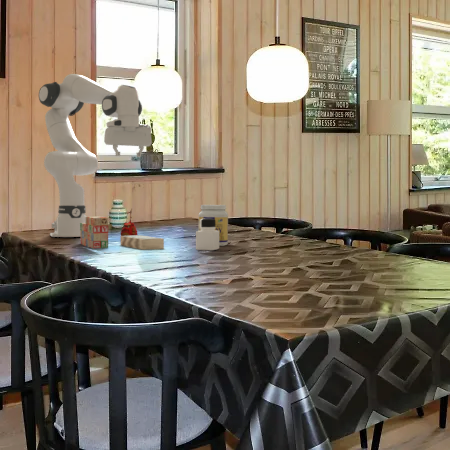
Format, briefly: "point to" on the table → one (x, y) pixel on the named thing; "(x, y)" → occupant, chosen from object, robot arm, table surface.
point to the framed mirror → (142, 242)
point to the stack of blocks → (94, 232)
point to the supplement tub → (217, 220)
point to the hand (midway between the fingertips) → (128, 156)
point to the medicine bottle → (207, 235)
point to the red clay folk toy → (129, 228)
